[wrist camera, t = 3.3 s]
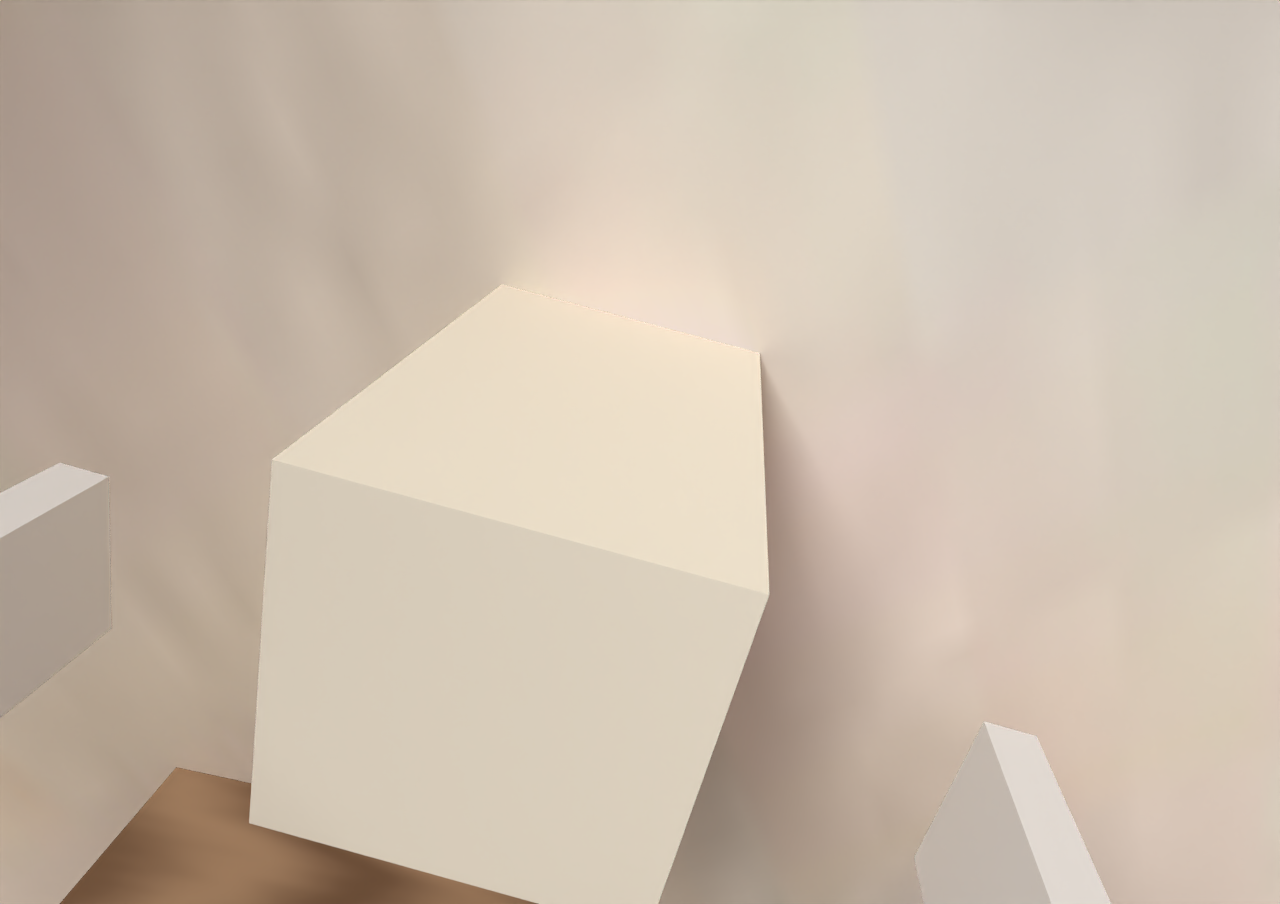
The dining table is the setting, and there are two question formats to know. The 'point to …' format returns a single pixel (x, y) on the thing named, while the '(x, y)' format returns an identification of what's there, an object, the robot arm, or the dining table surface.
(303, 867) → the walnut block
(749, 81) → the dining table surface
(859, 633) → the dining table surface
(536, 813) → the cream block
